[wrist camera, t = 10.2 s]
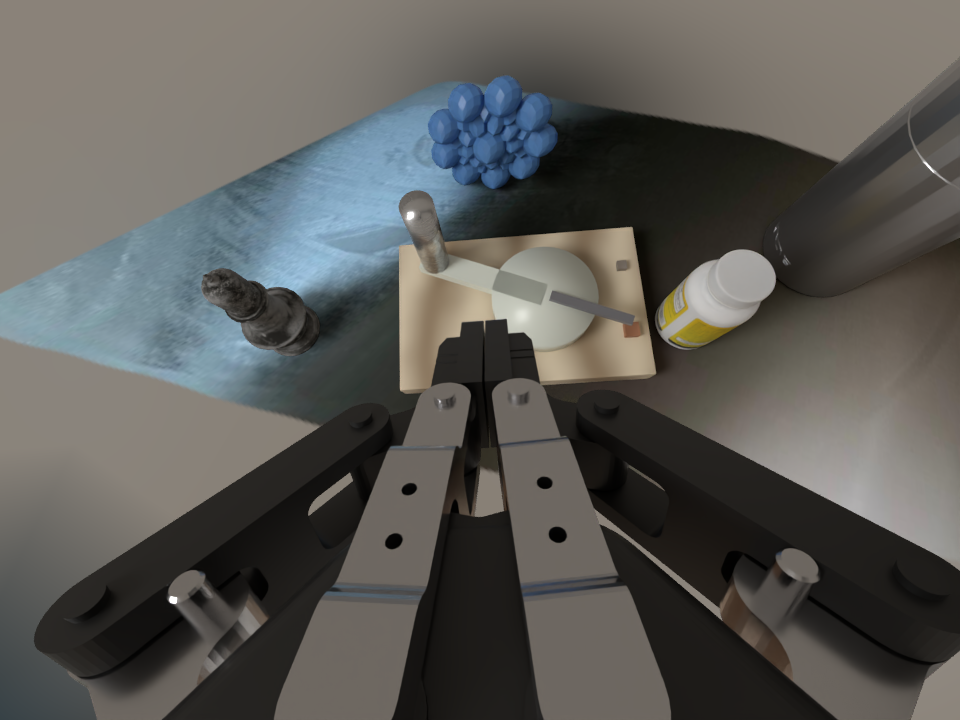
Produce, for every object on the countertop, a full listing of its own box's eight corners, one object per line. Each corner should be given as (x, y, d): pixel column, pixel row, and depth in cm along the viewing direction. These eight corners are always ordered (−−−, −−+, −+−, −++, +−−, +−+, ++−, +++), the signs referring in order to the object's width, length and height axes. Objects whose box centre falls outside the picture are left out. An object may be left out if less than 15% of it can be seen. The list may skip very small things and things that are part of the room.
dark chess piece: (290, 291, 40) (202, 223, 28) (335, 321, 39) (262, 262, 27) (252, 338, 39) (144, 288, 27) (297, 370, 38) (205, 332, 26)
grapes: (552, 152, 42) (571, 36, 30) (546, 209, 40) (564, 109, 29) (444, 145, 43) (421, 30, 31) (434, 200, 41) (407, 100, 30)
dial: (638, 283, 36) (688, 219, 26) (611, 377, 34) (654, 345, 24) (444, 226, 38) (424, 148, 28) (409, 310, 36) (374, 257, 27)
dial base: (625, 238, 39) (634, 223, 37) (648, 378, 36) (658, 372, 33) (404, 255, 40) (397, 242, 38) (405, 393, 37) (398, 389, 34)
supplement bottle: (726, 331, 36) (805, 287, 27) (677, 361, 36) (739, 327, 27) (689, 285, 38) (752, 227, 28) (641, 313, 37) (688, 264, 28)
